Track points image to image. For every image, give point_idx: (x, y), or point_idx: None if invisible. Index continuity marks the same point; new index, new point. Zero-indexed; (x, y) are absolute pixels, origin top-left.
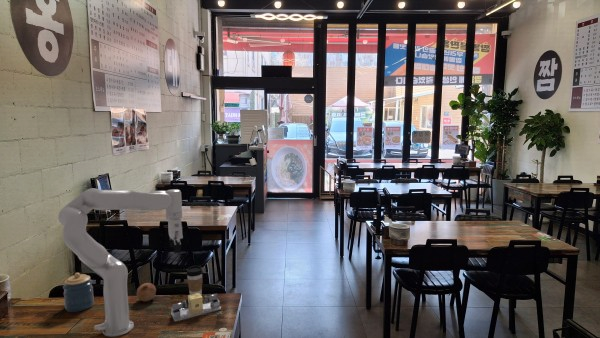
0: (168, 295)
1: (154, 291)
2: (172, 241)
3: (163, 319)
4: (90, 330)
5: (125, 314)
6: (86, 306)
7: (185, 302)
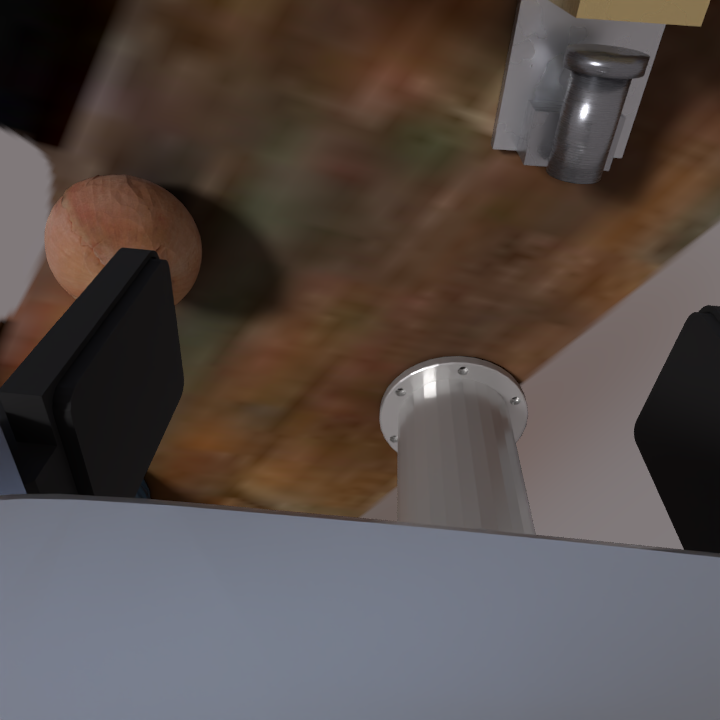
0: (128, 52)
1: (161, 204)
2: (122, 458)
3: (519, 206)
4: (375, 486)
5: (515, 457)
6: None
7: (637, 71)
